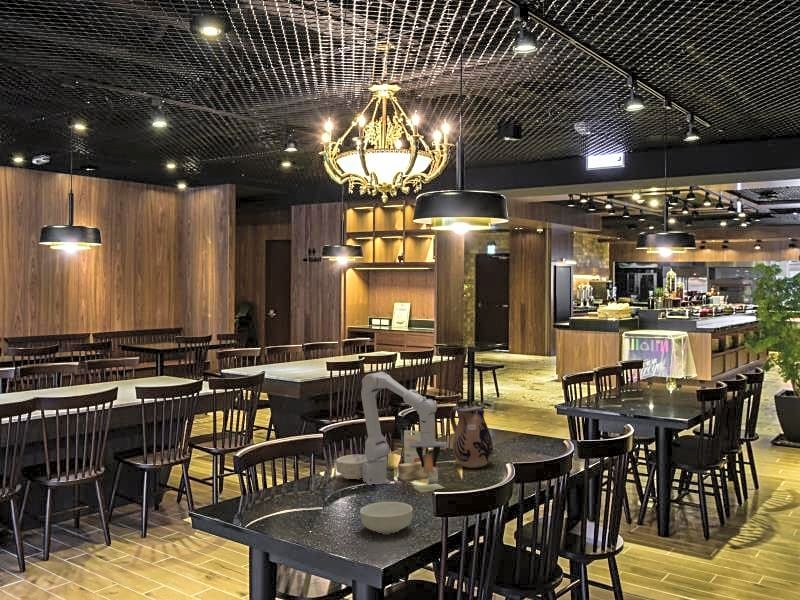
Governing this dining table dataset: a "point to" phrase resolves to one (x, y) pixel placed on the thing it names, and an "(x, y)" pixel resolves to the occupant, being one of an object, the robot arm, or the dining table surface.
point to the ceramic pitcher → (471, 437)
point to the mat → (428, 487)
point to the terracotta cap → (428, 462)
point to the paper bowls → (351, 466)
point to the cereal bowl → (386, 516)
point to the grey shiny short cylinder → (433, 476)
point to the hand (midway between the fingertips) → (428, 466)
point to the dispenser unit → (411, 471)
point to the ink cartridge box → (411, 454)
